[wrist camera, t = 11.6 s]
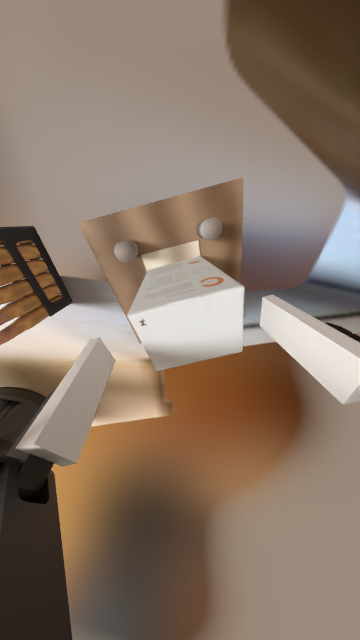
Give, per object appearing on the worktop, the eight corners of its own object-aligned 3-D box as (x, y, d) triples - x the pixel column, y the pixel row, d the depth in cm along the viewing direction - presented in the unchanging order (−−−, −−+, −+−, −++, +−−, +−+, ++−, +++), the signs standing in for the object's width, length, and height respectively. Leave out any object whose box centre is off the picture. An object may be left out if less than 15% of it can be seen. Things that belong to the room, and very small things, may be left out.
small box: (160, 307, 23) (154, 373, 12) (146, 269, 20) (123, 314, 9) (207, 295, 23) (244, 353, 12) (201, 254, 20) (246, 283, 9)
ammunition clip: (73, 302, 24) (2, 355, 13) (61, 303, 23) (-18, 356, 13) (33, 226, 18) (-140, 218, 8) (18, 227, 18) (-177, 220, 8)
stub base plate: (141, 338, 29) (136, 358, 24) (84, 223, 18) (56, 221, 13) (237, 316, 28) (251, 333, 23) (237, 181, 17) (263, 162, 12)
